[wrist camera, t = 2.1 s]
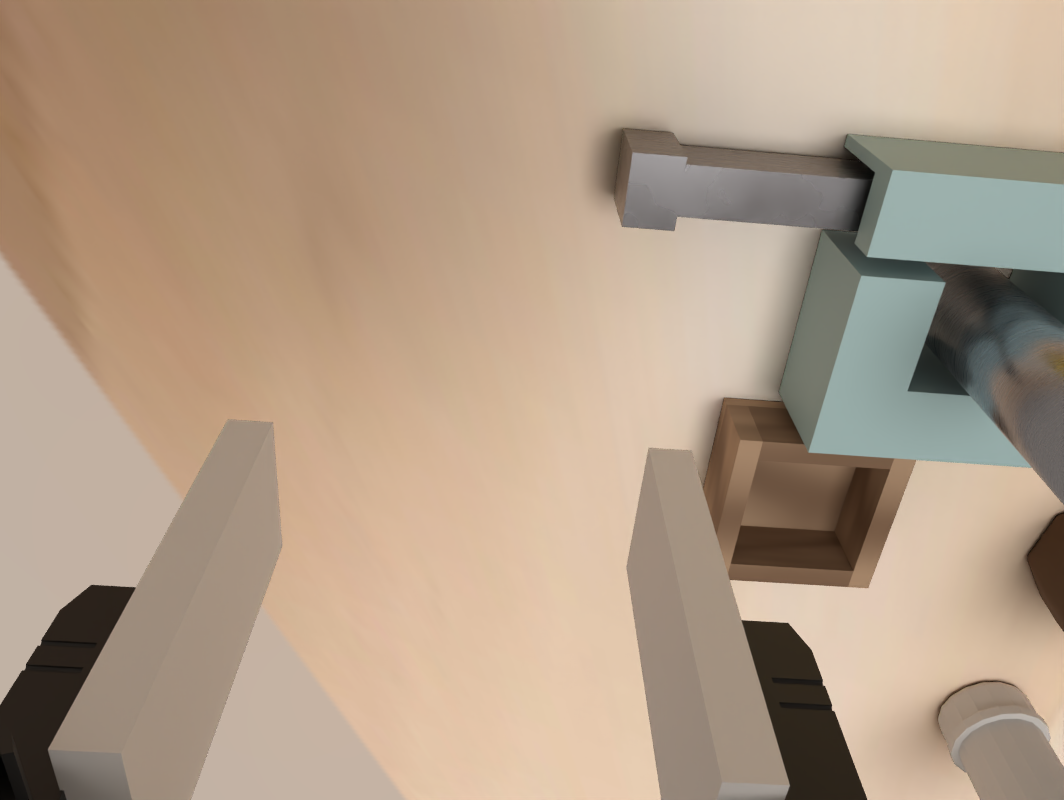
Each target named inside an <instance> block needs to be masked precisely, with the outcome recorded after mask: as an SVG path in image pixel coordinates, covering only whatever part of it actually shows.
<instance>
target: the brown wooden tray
mask: <svg viewBox="0 0 1064 800" xmlns="http://www.w3.org/2000/svg"><path fill="white" fill-rule="evenodd" d="M915 462H916V460H911V459H896V458H882V457H867V456H852V455H838V454H823V453H808V451H807V449H806V447H805V445H804V443H803V441H802V439H801V436H800V434H799V432H798V430H797V428H796V426H795V424H794V422H793V420H792V418H791V416H790V414H789V412H788V410H787V408H786V406H785V404H784V402H775V401H761V400H747V399H733V398H724V401H723V405H722V409H721V414H720V418H719V422H718V427H717V431H716V435H715V439H714V444H713V448H712V452H711V457H710V461H709V465H708V470H707V474H706V478H705V483H704V487H703V491H704V494H705V498H706V501H707V505H708V508H709V512H710V515H711V518H712V522H713V525H714V529H715V532H716V535H717V539H718V542H719V546H720V549H721V552H722V556H723V559H724V563H725V566H726V569H727V573H728V576H729V580H741V581H758V582H775V583H791V584H808V585H824V586H841V587H857V588H868V587H869V584H870V582H871V579H872V576H873V574H874V571H875V568H876V566H877V563H878V560H879V558H880V555H881V552H882V550H883V547H884V544H885V542H886V539H887V537H888V534H889V531H890V529H891V526H892V523H893V521H894V518H895V515H896V513H897V510H898V507H899V505H900V502H901V499H902V497H903V494H904V491H905V489H906V486H907V483H908V481H909V478H910V475H911V473H912V470H913V468H914V465H915Z"/></svg>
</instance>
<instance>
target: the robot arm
mask: <svg viewBox="0 0 1064 800" xmlns="http://www.w3.org/2000/svg"><path fill="white" fill-rule="evenodd" d="M281 548H282V535H281V522H280V509H279V496H278V483H277V469H276V456H275V443H274V430H273V422H260V421H246V420H231V419H228V420H227V422H226V423H225V425H224V427H223V429H222V431H221V433H220V434H219V436H218V438H217V440H216V442H215V444H214V445H213V447H212V449H211V451H210V453H209V455H208V457H207V458H206V460H205V462H204V464H203V466H202V468H201V469H200V471H199V473H198V475H197V477H196V479H195V480H194V482H193V484H192V486H191V488H190V490H189V491H188V493H187V495H186V497H185V499H184V501H183V503H182V504H181V506H180V508H179V510H178V512H177V513H176V515H175V517H174V519H173V521H172V523H171V525H170V526H169V528H168V530H167V532H166V534H165V535H164V537H163V539H162V541H161V543H160V545H159V547H158V548H157V550H156V552H155V554H154V556H153V557H152V560H151V561H150V563H149V565H148V567H147V568H146V570H145V572H144V574H143V576H142V578H141V580H140V581H139V583H138V585H137V587H136V588H135V587H117V586H101V585H100V586H99V585H91V586H90V587H88V588H87V589H86V590H85V591H83V592H82V593H81V594H80V595H79V596H77V597H76V598H75V599H73V600H72V601H71V602H70V603H68V604H67V605H66V606H65V607H63V608H62V609H61V610H60V611H59V613H58V614H57V616H56V618H55V619H54V621H53V622H52V624H51V626H50V627H49V629H48V630H47V632H46V633H45V635H44V637H43V638H42V640H41V641H42V642H41V645H40V646H37V648H36V649H35V651H34V653H33V654H32V656H31V657H30V659H29V660H28V662H27V664H26V669H25V671H21V673H20V675H19V677H18V678H17V679H16V681H15V683H14V684H13V686H12V687H11V689H10V690H9V692H8V694H7V695H6V697H5V698H4V700H3V702H2V703H1V705H0V800H191V798H192V795H193V793H194V790H195V787H196V784H197V781H198V779H199V776H200V773H201V770H202V767H203V765H204V762H205V759H206V757H207V754H208V751H209V748H210V745H211V743H212V740H213V737H214V734H215V731H216V729H217V726H218V723H219V720H220V718H221V715H222V712H223V709H224V706H225V704H226V701H227V698H228V695H229V693H230V690H231V687H232V684H233V681H234V679H235V676H236V673H237V670H238V667H239V664H240V662H241V659H242V656H243V653H244V651H245V648H246V645H247V643H248V640H249V637H250V634H251V632H252V628H253V626H254V623H255V620H256V618H257V615H258V612H259V609H260V607H261V604H262V601H263V598H264V595H265V593H266V590H267V587H268V584H269V582H270V579H271V576H272V573H273V571H274V568H275V565H276V562H277V559H278V557H279V554H280V551H281ZM627 573H628V580H629V587H630V594H631V600H632V607H633V614H634V620H635V627H636V634H637V640H638V647H639V654H640V660H641V667H642V674H643V680H644V687H645V694H646V700H647V707H648V714H649V720H650V727H651V734H652V740H653V747H654V754H655V761H656V767H657V774H658V781H659V787H660V794H661V800H867V797H866V795H865V792H864V789H863V787H862V784H861V781H860V779H859V776H858V773H857V771H856V768H855V765H854V763H853V760H852V757H851V755H850V752H849V749H848V747H847V744H846V741H845V738H844V736H843V733H842V730H841V728H840V725H839V722H838V720H837V717H836V714H835V712H834V711H832V704H831V701H830V698H829V696H828V693H827V690H826V688H825V686H823V683H822V682H823V679H822V677H821V674H820V671H819V669H818V666H817V663H816V661H815V658H814V655H813V653H812V650H811V649H810V648H809V647H808V645H807V644H806V643H805V642H804V641H803V640H802V639H801V637H800V636H799V635H798V634H797V633H796V632H795V630H794V629H793V628H792V627H791V626H790V625H789V624H788V623H778V622H761V621H743V620H741V617H740V614H739V610H738V607H737V604H736V600H735V597H734V593H733V590H732V586H731V583H730V580H729V576H728V573H727V569H726V566H725V563H724V559H723V556H722V552H721V549H720V546H719V542H718V539H717V535H716V532H715V529H714V525H713V522H712V518H711V515H710V512H709V508H708V505H707V501H706V498H705V494H704V491H703V488H702V484H701V481H700V477H699V474H698V471H697V467H696V464H695V460H694V457H693V454H692V451H689V450H674V449H659V448H649V449H648V454H647V459H646V465H645V470H644V476H643V481H642V486H641V492H640V497H639V502H638V508H637V513H636V519H635V524H634V529H633V535H632V540H631V545H630V551H629V556H628V562H627Z"/></svg>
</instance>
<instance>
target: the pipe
mask: <svg viewBox="0 0 1064 800" xmlns="http://www.w3.org/2000/svg"><path fill="white" fill-rule="evenodd" d="M938 722H939V726H940V729H941V732H942V734H943V736H944V738H945V740H946V742H947V744H948V745H947V746H948V749H949V752H950V755H951V758H952V760H953V762H954V764H955V765H956V766H958V767H959V768H960V769H961V770H963V771H964V772H966V773H967V774H968V776H969V778H970V780H971V782H972V784H973V786H974V788H975V790H976V792H977V794H978V796H979V798H980V800H1064V767H1063V765H1062V764H1061V762H1060V760H1059V759H1058V757H1057V755H1056V754H1055V752H1054V750H1053V749H1052V747H1051V745H1050V744H1049V741H1050V733H1049V729H1048V726H1047V724H1046V723H1045V721H1044V719H1043V718H1042V717H1040V716H1039V715H1038V714H1037V713H1036V711H1035V710H1034V708H1033V706H1032V705H1031V703H1030V701H1029V700H1028V698H1027V697H1026V696H1025V695H1024V694H1023V693H1022V692H1021V691H1020V690H1019V689H1017V688H1016V687H1015V686H1012V685H1009V684H1005V683H1002V682H982V683H979V684H975V685H972V686H968V687H965V688H964V689H962V690H960V691H959V692H957V693H955V694H953V695H952V696H951V697H950V698H949V699H948V700H947V701H946V702H945V703H944V704H943V705H942V707H941V710H940V713H939V717H938Z"/></svg>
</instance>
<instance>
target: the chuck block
mask: <svg viewBox="0 0 1064 800" xmlns="http://www.w3.org/2000/svg"><path fill="white" fill-rule="evenodd" d="M844 147H845V148H847V149H848V150H849V151H850V152H851V153H853V154H854V155H855V156H856V157H857V158H858V159H860V160H861V161H862V162H863V163H864V164H866V165H867V166H868V167H869V168H870V169H872V170H873V171H874V172H875V175H874V178H873V181H872V185H871V188H870V192H869V195H868V199H867V202H866V206H865V209H864V213H863V216H862V219H861V223H860V226H859V230H858V233H857V232H845V231H833V230H822V232H821V236H820V240H819V243H818V247H817V251H816V255H815V258H814V262H813V266H812V270H811V273H810V277H809V281H808V285H807V288H806V292H805V296H804V300H803V303H802V307H801V311H800V315H799V318H798V322H797V326H796V330H795V333H794V337H793V341H792V344H791V348H790V352H789V356H788V359H787V363H786V367H785V371H784V374H783V378H782V382H781V386H780V389H779V394H780V396H781V398H782V400H783V402H784V404H785V406H786V408H787V410H788V412H789V414H790V416H791V418H792V420H793V422H794V424H795V426H796V428H797V430H798V432H799V434H800V436H801V439H802V441H803V443H804V445H805V447H806V449H807V451H808V453H823V454H838V455H852V456H867V457H882V458H896V459H911V460H926V461H940V462H955V463H970V464H984V465H999V466H1013V467H1028V468H1032V467H1031V466H1030V465H1029V464H1028V462H1027V461H1026V460H1025V459H1024V458H1023V457H1022V456H1021V454H1020V453H1019V452H1018V451H1017V450H1016V449H1015V447H1014V446H1013V445H1012V444H1011V443H1010V442H1009V440H1008V439H1007V438H1006V437H1005V436H1004V435H1003V433H1002V432H1001V431H1000V430H999V429H998V428H997V426H996V425H995V424H994V423H993V422H992V421H991V419H990V418H989V417H988V416H987V415H986V414H985V413H984V411H983V410H982V409H981V408H980V407H979V406H978V404H977V403H976V402H975V401H974V400H973V399H972V397H971V396H970V395H969V394H968V393H967V392H966V390H965V389H964V388H963V387H962V386H961V385H960V383H959V382H958V381H957V380H956V379H955V378H954V376H953V375H952V374H951V373H950V372H949V371H948V370H947V368H946V367H945V366H944V365H943V364H942V363H941V361H940V360H939V359H938V358H937V357H936V356H935V354H934V353H933V352H932V351H931V350H930V349H929V347H928V346H927V345H926V344H925V340H926V337H927V334H928V331H929V328H930V326H931V323H932V320H933V317H934V314H935V311H936V309H937V306H938V303H939V300H940V297H941V294H942V292H943V289H944V286H945V283H946V282H945V281H944V280H943V279H942V278H941V277H940V276H938V275H937V274H936V273H935V272H934V271H933V270H932V269H931V268H930V267H929V266H928V265H927V264H926V263H925V262H936V263H948V264H961V265H973V266H986V267H998V268H1011V269H1013V271H1012V274H1011V276H1010V279H1009V280H1010V281H1011V282H1013V283H1014V284H1015V285H1016V286H1018V287H1019V288H1020V289H1021V290H1022V291H1024V292H1025V293H1026V294H1027V295H1028V296H1030V297H1031V298H1032V299H1033V300H1034V301H1036V302H1037V303H1038V304H1039V305H1040V306H1042V307H1043V308H1044V309H1045V310H1046V311H1048V312H1049V313H1050V314H1051V315H1052V316H1054V317H1055V318H1056V319H1057V320H1059V321H1060V322H1061V323H1062V324H1063V325H1064V153H1059V152H1047V151H1036V150H1024V149H1013V148H1001V147H990V146H979V145H967V144H956V143H944V142H933V141H921V140H910V139H899V138H887V137H876V136H864V135H853V134H848V135H847V138H846V142H845V146H844Z"/></svg>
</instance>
